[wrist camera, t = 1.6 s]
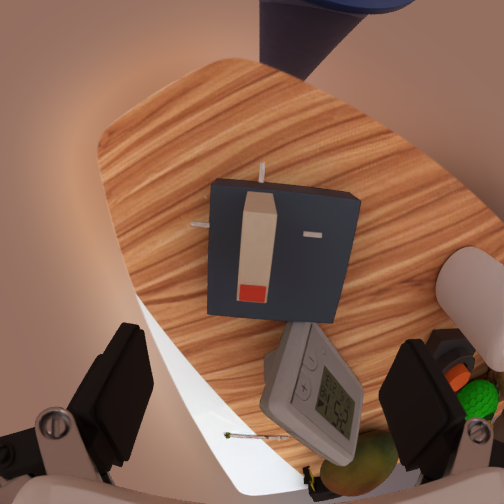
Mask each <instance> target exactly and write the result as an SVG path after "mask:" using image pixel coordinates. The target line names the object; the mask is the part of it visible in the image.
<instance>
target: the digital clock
mask: <svg viewBox="0 0 504 504" xmlns="http://www.w3.org/2000/svg"><path fill="white" fill-rule="evenodd" d="M264 381H265V387H264V390H263V393H262V396H261V399H260V409H261V411H262V412H263V413H264V414H265V415H266V416H267V417H269V418H270V419H271V420H272V421H274V422H275V423H276V424H277V425H279V426H280V427H281V428H283V429H284V430H285V431H286V432H287V433H288V434H290V435H291V436H292V437H294V438H295V439H296V440H298V441H299V442H301V443H302V444H303V445H305V446H306V447H308V448H309V449H311V450H312V451H314V452H315V453H316V454H318V455H319V456H321V457H322V458H324V459H326V460H328V461H330V462H331V463H333V464H335V465H338V466H346V465H348V464H349V463H350V462H351V461H352V460H353V459H354V455H355V450H356V445H357V439H358V432H359V426H360V419H361V412H362V404H363V395H364V390H363V387H362V385H361V383H360V382H359V381H358V379H357V378H356V376H355V375H354V373H353V372H352V371H351V369H350V368H349V367H348V365H347V364H346V362H345V361H344V360H343V358H342V357H341V355H340V354H339V353H338V351H337V350H336V349H335V347H334V346H333V344H332V343H331V342H330V340H329V339H328V338H327V336H326V335H325V333H324V332H323V331H322V329H321V328H320V327H319V325H318V324H317V323H313V322H294V321H287V323H286V325H285V328H284V331H283V334H282V337H281V340H280V343H279V346H278V348H277V349H275V350H273V351H271V352H269V353H268V354H266V355H265V356H264Z"/></svg>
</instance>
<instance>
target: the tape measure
mask: <svg viewBox="0 0 504 504" xmlns="http://www.w3.org/2000/svg"><path fill="white" fill-rule="evenodd" d="M309 467H310V466H307V467H304V468H303V474H304V475H305V477H304V484H308V489H309V495H310V496H311V497H312V499H313V501H314V502H319V501H324V500H329V499H334V498H338V497H341V496H342V495H339V494H336V493H334V492H332V491H330V490H329V489H328V488H327V487H326V486H325V485H324V484H323V482H322V480H321V477H318V478H313V476H312V473H311V471H310V469H308V468H309Z"/></svg>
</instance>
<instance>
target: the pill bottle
mask: <svg viewBox="0 0 504 504" xmlns="http://www.w3.org/2000/svg"><path fill="white" fill-rule="evenodd" d="M435 292H436V298H437V301H438V303H439V305H440V306H441V308H442V309H443V310H444V311H445V313H446V314H447V315H448V316H449V317H450V319H451V320H452V321H453V322H454V323H455V324H456V326H457V327H458V328H459V329H460V331H461V332H462V333H463V334H464V336H465V337H466V338H467V339H468V341H469V342H470V343H471V344H472V346H473V347H474V348H475V349H476V351H477V352H478V353H479V355H480V356H481V357H482V359H483V360H484V361H485V363H486V364H487V365H488V366H489V367H490V368H491V369H493V370H494V371H497V372H504V265H502V264H501V263H500V262H498V261H497V260H495V259H494V258H493V257H491V256H490V255H488V254H487V253H485V252H484V251H482V250H481V249H479V248H476V247H464V248H462V249H459V250H458V251H456V252H455V253H454V254H452V255H451V256H450V257H449V258H448V260H447V261H446V262H445V264H444V265H443V267H442V268H441V270H440V273H439V275H438V278H437V281H436V288H435Z"/></svg>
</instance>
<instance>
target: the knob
mask: <svg viewBox="0 0 504 504" xmlns="http://www.w3.org/2000/svg"><path fill="white" fill-rule="evenodd" d="M276 223H277V211H276V207H275V202H274V197H273V194H272V193H262V192H251V191H248V192H247V196H246V201H245V206H244V211H243V221H242V234H241V247H240V260H239V273H238V287H237V301H246V302H258V303H266V302H267V295H268V288H269V280H270V272H271V264H272V256H273V248H274V240H275V232H276Z"/></svg>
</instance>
